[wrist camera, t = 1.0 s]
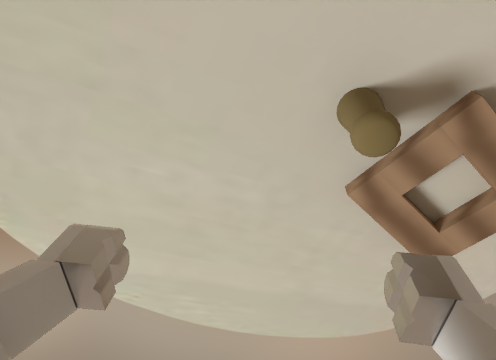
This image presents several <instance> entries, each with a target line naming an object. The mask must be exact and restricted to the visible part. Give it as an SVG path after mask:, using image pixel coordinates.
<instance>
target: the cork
mask: <svg viewBox="0 0 496 360" xmlns="http://www.w3.org/2000/svg"><path fill="white" fill-rule="evenodd" d="M337 117H338V120H339V121H340V123H341V125H342V126H343V127H344V128H345V129H346V130H347V131H348V132H349V133H350V138H351V142H352V145H353V146H354V148H355V149H356V150H357V151H358V152H360V153H361V154H362V155H365V156H368V157H379V156H383V155H385V154H387V153H389V152H391V151H392V150H393V149H394V148H395V147H396V146H397V144H398V142H399V140H400V136H401V129H400V124H399V122H398V121H397V119H396V118H395V117H394V116H393V115H392V114H390V113H389V112H386V110H385V108H384V105H383V103H382V100H381V98H380V97H379V95H378V94H377V93H376V92H375V91H373V90H371V89H368V88H357V89H354V90H351V91H350V92H348V93H347V94H345V95H344V96H343V98H342V99H341V100H340V102H339V104H338V106H337Z"/></svg>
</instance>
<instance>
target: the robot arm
mask: <svg viewBox="0 0 496 360" xmlns="http://www.w3.org/2000/svg"><path fill="white" fill-rule="evenodd" d="M125 239H126V238H125V234H124V231H123V230H122V229H120V228H111V227H102V226H93V225H81V224H73V225H70V226H69V227H68V228H67V229H66V230H65V231H64V232H63V233H62V234H61V235H60V236H59V237H58V238H57V239H56V240H55V241H54V242H53V243H52V244H51V245H50V246H49V247H48V249H47V250H46V251H45V252H44V253H43V254H42V255H41V256H40V257H39V258H38V259H37V260H30V261H27V262H25V263H23V264H21V265H19V266H17V267H15V268H13V269H10V270H9V271H6V272H5V273H2V274H0V360H12V359H13V358H14V357H16V356H17V355H18V354H20V353H21V352H22V351H24V350H25V349H26V348H27V347H29V346H30V345H31V344H33V343H34V342H35V341H37V340H38V339H39V338H40V337H42V336H43V335H44V334H46V333H47V332H48V331H50V330H51V329H52V328H54V327H55V326H56V325H57V324H59V323H60V322H61V321H63V320H64V319H65V318H67V317H68V316H69V315H70V314H72V313H73V312H74V311H76V310H77V308H82V309H95V310H105V309H106V308H107V306H108V304H109V303H110V301H111V299H112V297H113V296H114V294H115V292H116V290H115V286H114V285H116V284H117V283H119V282H120V281H122V280H123V278H124V277H125V275H126V273H127V270H128V266H129V252H128V249H127V248H126V247H125V246H124V245H123V242H124V241H125ZM391 264H392V267H393V269H392V270H391V271H390V272H388V273H387V275H386V278H385V282H384V294H385V299H386V302H387V306H388V307H389V308H390V309H391V310H392V311H393V312H394V313H395V314H394V317H393V319H392V321H393V323H394V326H395V329H396V332H397V335H398V338H399V341H400V342H405V343H414V344H420V345H428V346H433V349H434V350H435V351H436V352H437V353H438V354H439V356H440V357H441V358H442V359H443V360H496V307H495V306H494V305H493V304H489V303H485V302H484V300H483V299H482V297H481V296H480V294H479V293H478V291H477V290H476V288H475V287H474V285H473V284H472V282H471V281H470V279H469V278H468V276H467V275H466V273H465V272H464V270H463V269H462V267H461V266H460V264H459V263H458V261H457V260H456V259H455V258H454V257H452V256H444V255H426V254H413V253H400V252H396V253H395V254H394V255H393V257H392V260H391Z"/></svg>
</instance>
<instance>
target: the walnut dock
mask: <svg viewBox="0 0 496 360" xmlns="http://www.w3.org/2000/svg"><path fill="white" fill-rule="evenodd" d="M461 155H464V156H465V157H466V159H467V160H468V161H469V162H470V163H471V164H472V165H473V167H474V168H475V169H476V170H477V171H478V172H479V173H480V175H481V176H482V177H483V178H484V179H485V180H486V181H487V183H488V184H489V185H490V186H491V187H492V188H490V189H489V190H487V191H485V192H484V193H482V194H480V195H479V196H477V197H475V198H474V199H472V200H470V201H469V202H467V203H465V204H464V205H462V206H460V207H459V208H457V209H455V210H454V211H452V212H450V213H449V214H447V215H445V216H444V217H442V218H440V219H439V220H437V221H435V222H434V223H432V222H431V221H430V220H429V219H428V218H427V217H426V216H425V215H424V214H423V213H422V212H421V211H420V210H419V209H418V208H417V207H416V206H415V205H414V204H413V203H412V202H411V201H410V200H409V199H408V198H407V197H406V196H405V195H404V194H405V193H406V192H408V191H409V190H411V189H412V188H414V187H415V186H417V185H418V184H420V183H421V182H423V181H424V180H425V179H427V178H428V177H430V176H431V175H433V174H434V173H436V172H437V171H439V170H440V169H442V168H443V167H445V166H446V165H448V164H449V163H451V162H452V161H454V160H455V159H457V158H458V157H460V156H461ZM345 188H346V191H347V194H348V196H349V197H350V198H351V199H352V200H354V201H355V202H356V203H357V204H358V205H359V206H360V207H361V208H362V209H363V210H364V211H366V212H367V213H368V214H369V215H370V216H371V217H372V218H373V219H374V220H375V221H376V222H377V223H379V224H380V225H381V226H382V227H383V228H384V229H385V230H386V231H387V232H388V233H389V234H391V235H392V236H393V237H394V238H395V239H396V240H397V241H398V242H399V243H400V244H401V245H402V246H404V247H405V248H406V249H407V250H408V251H409V252H410V253H413V254H426V255H444V256H453V255H455V254H457V253H458V252H460V251H462V250H464V249H466V248H468V247H470V246H472V245H473V244H475V243H477V242H479V241H481V240H483V239H485V238H487V237H488V236H490V235H492V234H494V233H496V113H495V112H494V111H493V110H492V108H491V107H490V106H489V104H488V103H487V102H486V101H485V99H484V98H483V97H482V96H480V95H478V94H476V93H474V92H472V91H471V92H470V93H469V94H467V95H466V96H465V97H463V98H462V99H461V100H459V101H458V102H457V103H455V104H454V105H453V106H451V107H450V108H449V109H447V110H446V111H445V112H443V113H442V114H441V115H439V116H438V117H437V118H435V119H434V120H433V121H431V122H430V123H429V124H427V125H426V126H425V127H423V128H422V129H421V130H419V131H418V132H417V133H415V134H414V135H413V136H411V137H410V138H409V139H407V140H406V141H405V142H403V143H402V144H401V145H399V146H398V147H397V148H395V149H394V150H393V151H391V152H390V153H389V154H388V155H386V156H385V157H384V158H382V159H381V160H380V161H378V162H377V163H376V164H374V165H373V166H372V167H370V168H369V169H368V170H366V171H365V172H364V173H362V174H361V175H360V176H358V177H357V178H356V179H354V180H353V181H352V182H350V183H349V184H348V185H346V186H345Z"/></svg>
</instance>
